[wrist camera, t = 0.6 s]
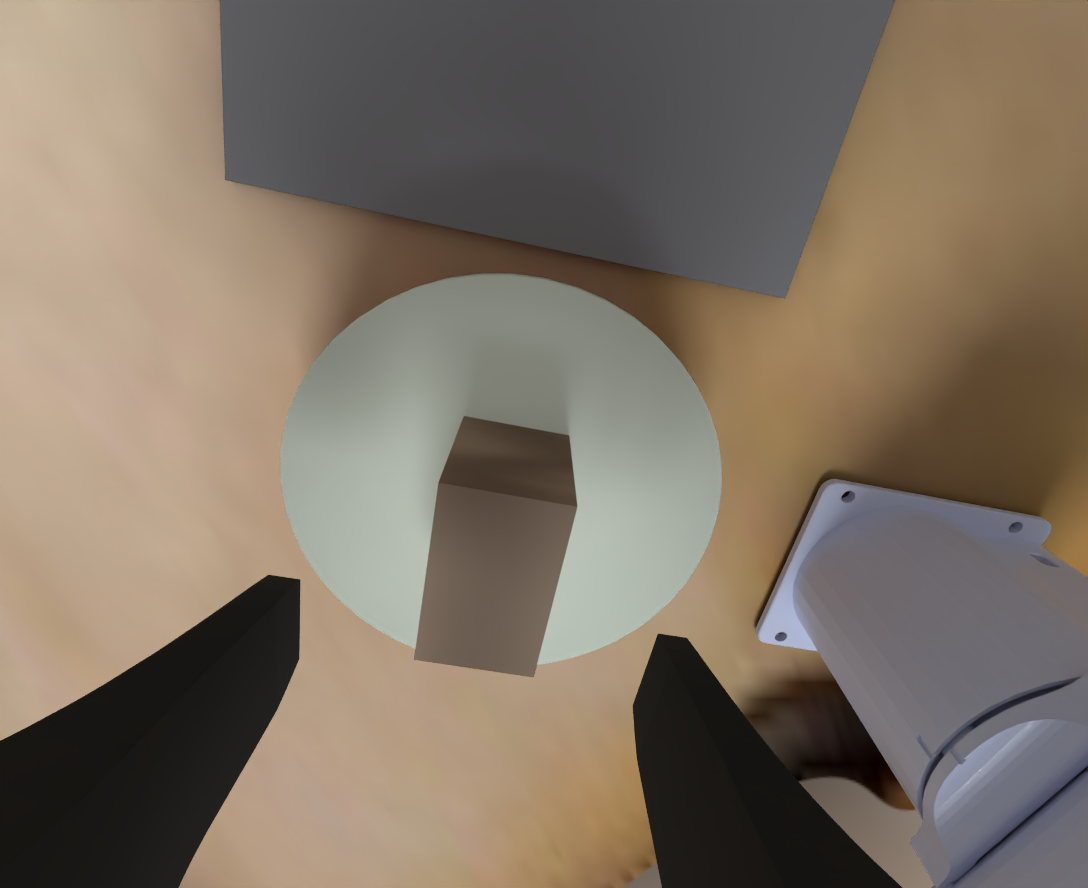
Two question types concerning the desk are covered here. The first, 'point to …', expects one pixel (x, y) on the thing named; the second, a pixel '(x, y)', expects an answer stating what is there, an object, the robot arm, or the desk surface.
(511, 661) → the lid
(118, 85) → the desk surface
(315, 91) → the mat
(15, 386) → the desk surface
